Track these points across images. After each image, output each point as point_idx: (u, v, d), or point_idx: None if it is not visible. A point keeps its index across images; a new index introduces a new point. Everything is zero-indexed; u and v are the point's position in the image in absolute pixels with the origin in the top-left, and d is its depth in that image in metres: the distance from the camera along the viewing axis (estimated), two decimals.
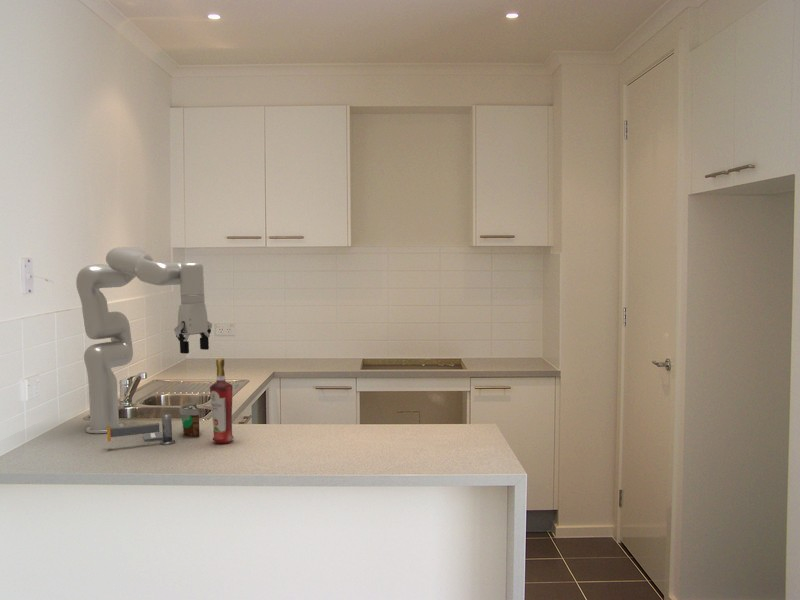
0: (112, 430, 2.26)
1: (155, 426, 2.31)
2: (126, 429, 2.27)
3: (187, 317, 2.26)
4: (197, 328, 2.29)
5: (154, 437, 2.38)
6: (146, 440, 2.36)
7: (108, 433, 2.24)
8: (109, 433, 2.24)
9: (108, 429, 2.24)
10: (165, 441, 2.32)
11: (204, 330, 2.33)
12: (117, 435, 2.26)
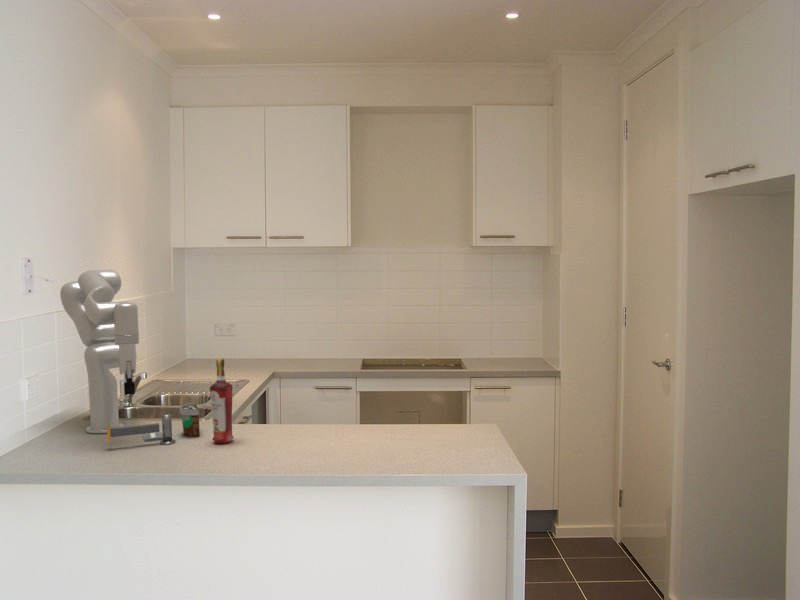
0: (112, 430, 2.26)
1: (155, 426, 2.31)
2: (126, 429, 2.27)
3: (133, 356, 2.30)
4: None
5: (154, 437, 2.38)
6: (146, 440, 2.36)
7: (108, 433, 2.24)
8: (109, 433, 2.24)
9: (108, 429, 2.24)
10: (165, 441, 2.32)
11: None
12: (117, 435, 2.26)
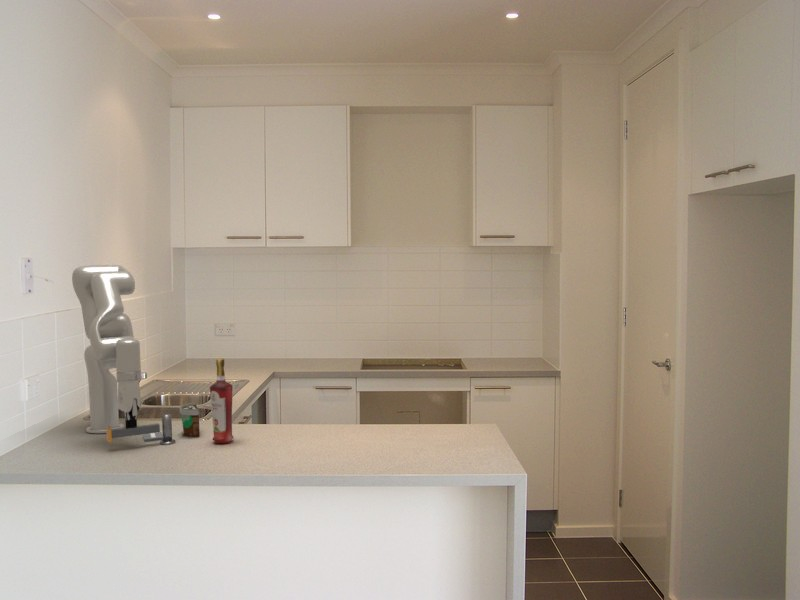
0: (113, 431, 2.24)
1: (155, 426, 2.31)
2: (127, 430, 2.26)
3: (139, 394, 2.27)
4: None
5: (154, 437, 2.38)
6: (146, 440, 2.36)
7: (109, 434, 2.23)
8: (110, 434, 2.23)
9: (109, 430, 2.23)
10: (165, 441, 2.32)
11: None
12: (118, 436, 2.25)
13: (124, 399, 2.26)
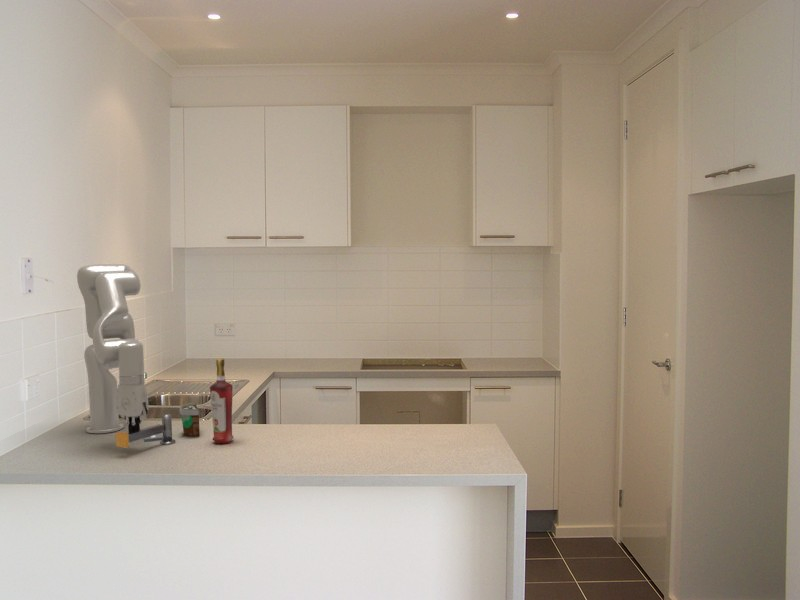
0: None
1: (160, 427, 2.30)
2: (138, 433, 2.22)
3: (147, 397, 2.24)
4: None
5: (154, 437, 2.38)
6: (146, 440, 2.36)
7: (126, 439, 2.16)
8: (127, 439, 2.17)
9: (126, 435, 2.16)
10: (165, 441, 2.32)
11: None
12: (131, 440, 2.19)
13: (133, 403, 2.20)
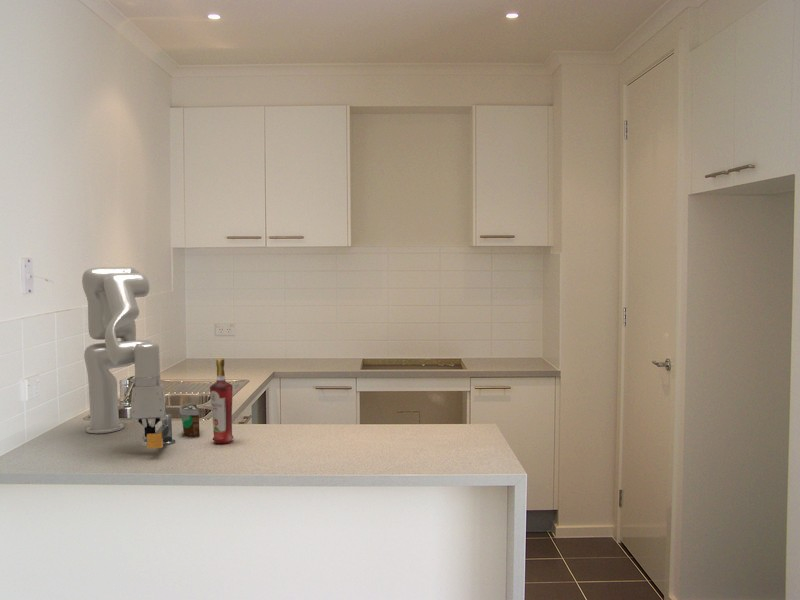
0: None
1: (167, 427, 2.30)
2: (161, 433, 2.21)
3: None
4: None
5: None
6: (146, 440, 2.36)
7: (162, 439, 2.16)
8: (162, 439, 2.16)
9: (161, 435, 2.16)
10: (165, 441, 2.32)
11: None
12: None
13: (157, 404, 2.19)
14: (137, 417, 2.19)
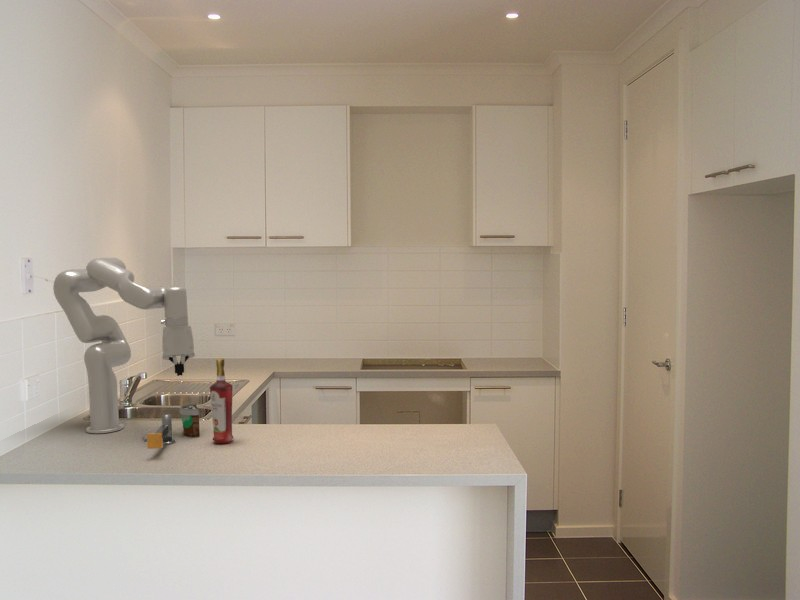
0: None
1: (167, 427, 2.30)
2: (161, 433, 2.21)
3: None
4: None
5: None
6: (146, 440, 2.36)
7: (162, 439, 2.16)
8: (162, 439, 2.16)
9: (161, 435, 2.16)
10: (165, 441, 2.32)
11: None
12: None
13: (188, 341, 2.40)
14: (169, 354, 2.38)
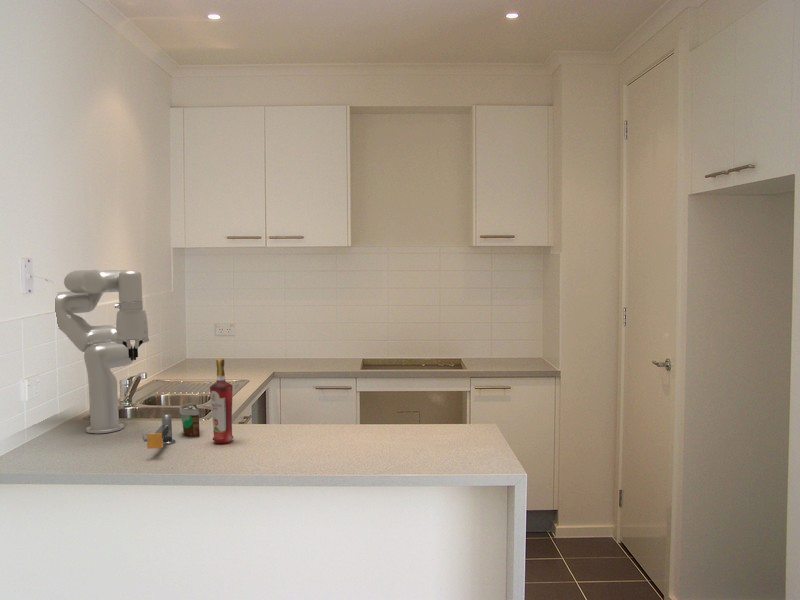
0: None
1: (167, 427, 2.30)
2: (161, 433, 2.21)
3: None
4: None
5: None
6: (146, 440, 2.36)
7: (162, 439, 2.16)
8: (162, 439, 2.16)
9: (161, 435, 2.16)
10: (165, 441, 2.32)
11: None
12: None
13: (142, 326, 2.38)
14: (123, 339, 2.36)
